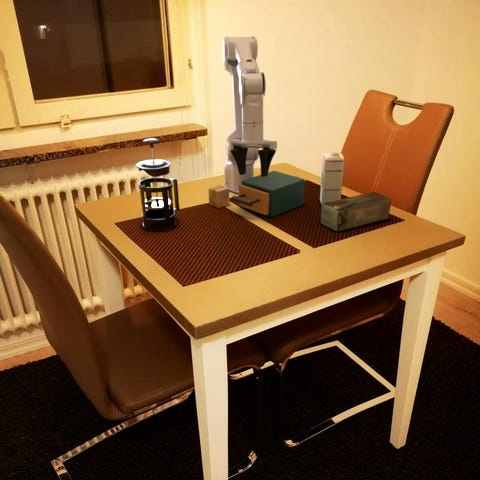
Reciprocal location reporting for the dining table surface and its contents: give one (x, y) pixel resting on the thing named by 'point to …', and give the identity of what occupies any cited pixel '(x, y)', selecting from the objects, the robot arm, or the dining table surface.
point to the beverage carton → (355, 211)
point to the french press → (157, 208)
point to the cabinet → (279, 190)
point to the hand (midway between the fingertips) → (253, 175)
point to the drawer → (253, 199)
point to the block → (218, 196)
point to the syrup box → (331, 177)
